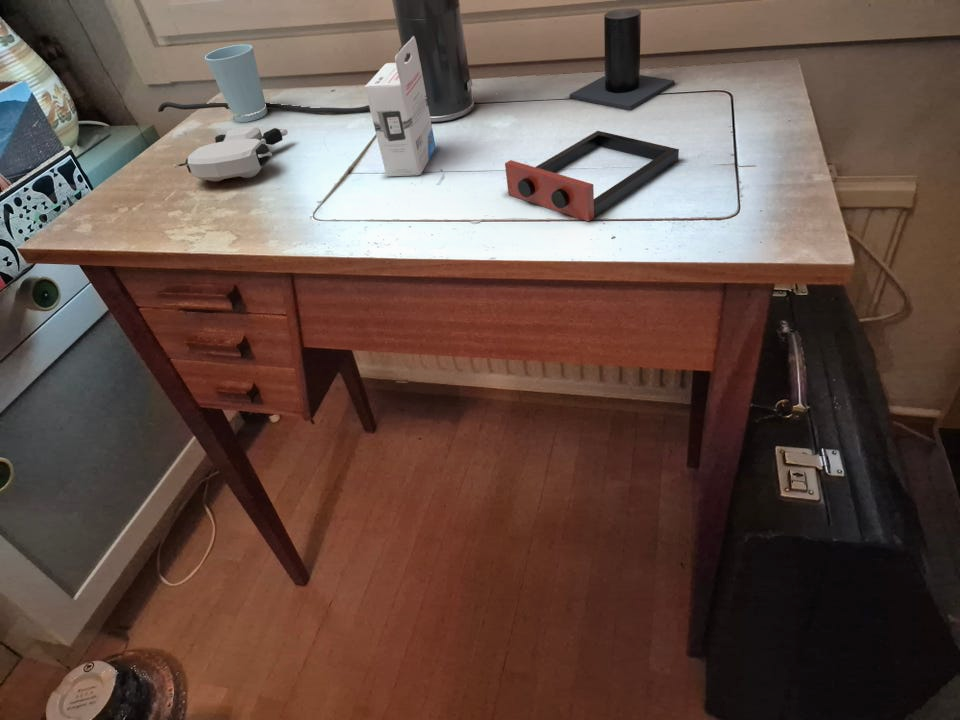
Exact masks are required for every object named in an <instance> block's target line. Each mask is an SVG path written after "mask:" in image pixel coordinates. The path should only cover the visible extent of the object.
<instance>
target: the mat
mask: <svg viewBox="0 0 960 720" xmlns="http://www.w3.org/2000/svg"><path fill="white" fill-rule="evenodd" d="M675 83H676V81H675V79H669V78H662V77H655V76H649V75H642V74H640V79H639V87H638V88H637V89H636V90H634V91H630V92H626V93H612V92H608V91H606V90H605V75H603V76H602V77H599V78H597V79H596V80H594V81H591V82H590V83H588V84H587V85H584V86H582V87H581V88H579V89H577V90H575V91H573V92H571V93H569V95H568V97H569V99H573V100H576V101H582V102H587V103H593V104H596V105H602V106H607V107H612V108H617V109H622V110H627V111H632V110H633V109H635V108H636V107H638V106H640V105H642V104H644V103H645V102H647V101H649V100H650V99H652V98H655V96H657V95H659V94H660V93H662V92H664V91H666V90H667V89H669V88H671V87H673V86H674V85H675Z"/></svg>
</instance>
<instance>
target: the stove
mask: <svg viewBox="0 0 960 720" xmlns="http://www.w3.org/2000/svg"><path fill="white" fill-rule="evenodd" d="M598 147H602V148H606V149H611V150H615V151H618V152H623V153H626V154H631V155H635V156H637V157H642V158H646V159H651V161H649V162H647V163H646V164H645V165H643V166H642V167H640V168H638V169H637V170H636V171H634V172H632V173H631V174H629V175H628V176H627V177H625V178H624V179H622V180H620V181H619V182H617V183H616V184H614V185H612V187H609V188H608V189H607V190H605V191H604V192H602V193H601V194H600V195H597V196H596V197H595V196H594V195H595V193H594V191H595V190H594V184H593V183H590V182H587V181H584V180H580V179H577V178H573V177H571V176H567V175H563V174H560V173H557V172H558V171H560V170H561V169H563V168H565V167H566V166H568V165H570V164H572V163H573V162H575V161H577V160H579V159H580V158H582V157H583V156H585V155H586V154H588V153H590V152H591V151H593V150H595V149H597V148H598ZM679 154H680V149H679V148H675V147H671V146H666V145H663V144H657V143H653V142H650V141H645V140H642V139H641V140H640V139H636V138H632V137H627V136H622V135H618V134H614V133H609V132H606V131H602V130H596V131H594V132H593V133H591V134H589V135H587V136H585V137H584V138H582V139H581V140H579V141H577V142H575V143H574V144H572V145H570V146H569V147H567V148H565V149H564V150H561V151H560V152H558V153H557V154H555V155H553V156H551V157H549V158H548V159H546V160H544V161H543V162H541V163H539V164H538V165H536V166H532V165H529V164H525V163H522V162H518V161H516V160H512V159H510V160H508V161H506V162H505V163H504V167H505V177H506V186H507V194H508V196H511V197H513V198H517V199H520V200H523V201H525V202H528V203H531V204H535V205H537V206H540V207H543V208H547V209H550V210H551V211H555V212H558V213H561V214H564V215H566V216H570V217H573V218H575V219H576V218H577V219H579V220H582V221H585V222H587V223H588V222H591V221H592V220H594V219H595V218H597V217H598V216H600V215H601V214H602V213H604V212H606V211H607V210H609V209H611V207H613V206H614V205H616V204H618V203H619V202H621V201H622V200H623V199H625V198H626V197H628V196H630V194H632V193H634V192H635V191H636V190H638V189H639V188H641V187H642V186H644V185H646V183H648V182H649V181H651V180H652V179H654V178H656V177H657V176H659V175H661V173H663V172H664V171H666V170H667V169H669V168H670V167H672V166H673V165H675V164H676V163H678V162H679Z"/></svg>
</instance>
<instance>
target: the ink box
mask: <svg viewBox="0 0 960 720" xmlns="http://www.w3.org/2000/svg"><path fill="white" fill-rule="evenodd" d="M406 53H407V54H409V53H410V56H411V57H410V59H409V60H408V62H405V61H404V60H405V57H406ZM364 90H365V95H366V98H367V103H368V105H369V107H370V111H369V112H370V115H371V119H372V123H373V126H374V131H375V135H376V140H377V143H378V147H379V152H380V156H381V160H382V164H383V168H384V173H385V176H386V177H408V176H409V177H411V176H420V175H422V173H423V171H424V170H425V168H426V167H427V165H428V163H429V161H430V159H431V158H432V156H433V154H434V152H435V150H436V147H437V146H436V141H435V136H434V131H433V124H432V122H431V119H430V113H429V108H428V103H427V97H426V91H425V86H424V80H423V75H422V69H421V64H420V60H419V54H418V49H417V44H416V39H415V37H414V36H413V37H412V38H411V39H410V40H409V41H408V42H407V43H406V44H405V45H404V47H403V48H402V49H401V50H400V51H399V50H398V52H397V53H396V55H395V56H394V62H386V63H385V64H384V65H383V66H382V67H381V68H380V69H379V70H378V71H377V72H376V74H374V76H373V77H372V78H371V79H370V80H369V81H368V82H367V83H366V84H365V85H364Z"/></svg>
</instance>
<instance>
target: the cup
mask: <svg viewBox="0 0 960 720" xmlns="http://www.w3.org/2000/svg"><path fill="white" fill-rule="evenodd" d="M204 60H205V63H206V64H207V66H208V68H209V70H210V72H211V74H212V76H213V78H214V80H215V82H216V84H217V86H218V88H219V90H220V92H221V94H222V96H223V98H224V100H225V102H227V104H228V106H229V107H228V109H229V110H230V112H231V114H232V113H233V114H236V115H245V114H250V113H254V112H257V111H259V110H261V109H262V108H264V107H265V104H266V103H267V102H266V99H265V95H264V91H263V86H262V82H261V78H260V74H259V68H258V65H257V60H256V55H255V51H254V47H253V46H252V45H251V44H245V43H243V44H234V45H229V46H225V47H221V48H217V49H215V50H213V51H210V52H208V53H206V55H205V56H204ZM233 114H232V116H233V118H234V120H235V121H236V122H239V123H248V122H253V121H256V120H259V119H261V118H263V117H265V116H266V115H267V114H268V109H267V108H265V109H264V110H263V111H261V112H259V113H256V114H253V115H250V116H243V117H236V116H234V115H233Z"/></svg>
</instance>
